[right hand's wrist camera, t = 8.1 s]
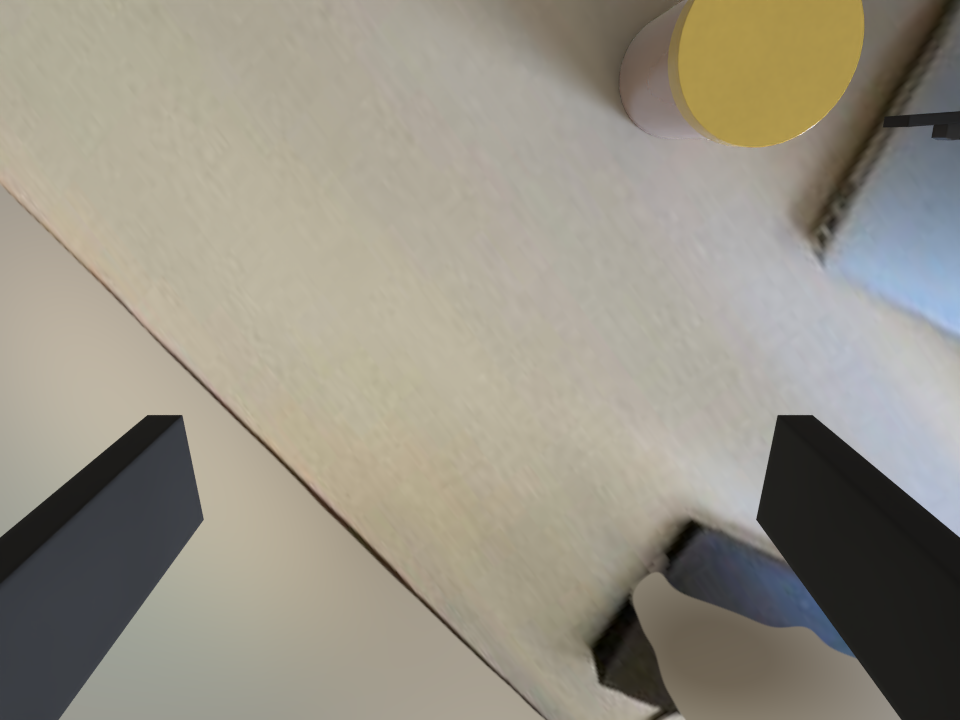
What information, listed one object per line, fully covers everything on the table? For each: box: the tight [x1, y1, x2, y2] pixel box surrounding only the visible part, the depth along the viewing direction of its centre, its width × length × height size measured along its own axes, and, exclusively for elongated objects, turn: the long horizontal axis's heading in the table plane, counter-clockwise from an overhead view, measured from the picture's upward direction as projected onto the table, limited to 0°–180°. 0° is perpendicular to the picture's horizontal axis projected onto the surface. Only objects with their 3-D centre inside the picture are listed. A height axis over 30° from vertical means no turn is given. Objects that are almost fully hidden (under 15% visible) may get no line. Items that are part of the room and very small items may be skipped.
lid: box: [668, 0, 864, 147], centre depth 33 cm, size 10×10×2 cm
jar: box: [619, 0, 707, 139], centre depth 40 cm, size 9×9×16 cm
